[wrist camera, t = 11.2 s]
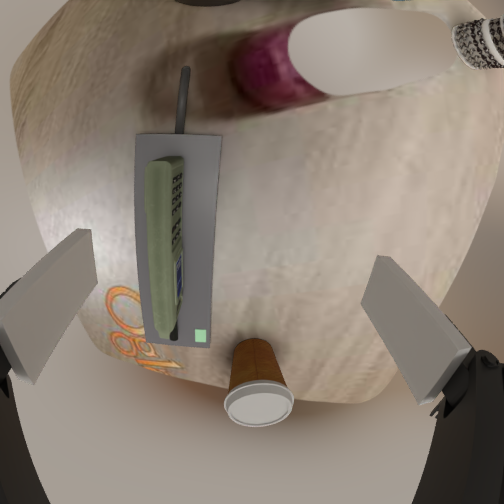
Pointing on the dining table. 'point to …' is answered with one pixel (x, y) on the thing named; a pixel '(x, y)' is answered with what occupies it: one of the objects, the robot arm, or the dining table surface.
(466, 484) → the robot arm
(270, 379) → the disposable coffee cup
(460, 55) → the decorative candle
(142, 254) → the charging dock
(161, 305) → the handheld radio
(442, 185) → the dining table surface
